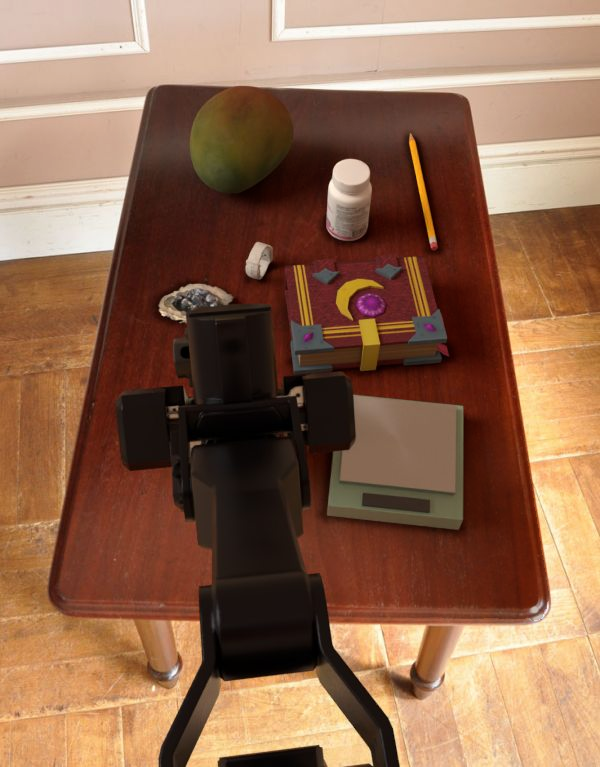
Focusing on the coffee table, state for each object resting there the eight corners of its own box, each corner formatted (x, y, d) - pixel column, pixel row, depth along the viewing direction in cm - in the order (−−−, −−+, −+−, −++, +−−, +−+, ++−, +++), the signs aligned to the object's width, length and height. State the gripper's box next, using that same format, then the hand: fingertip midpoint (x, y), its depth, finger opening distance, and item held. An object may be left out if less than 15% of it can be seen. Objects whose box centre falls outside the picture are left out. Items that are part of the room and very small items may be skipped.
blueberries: (228, 338, 89) (227, 327, 87) (151, 331, 89) (149, 320, 87) (236, 288, 92) (236, 277, 91) (163, 282, 93) (161, 270, 91)
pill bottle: (327, 210, 99) (331, 153, 92) (368, 213, 99) (375, 157, 92) (324, 240, 97) (327, 184, 90) (366, 244, 96) (373, 189, 89)
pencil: (430, 250, 96) (431, 246, 96) (406, 135, 107) (407, 130, 106) (437, 250, 96) (438, 246, 96) (413, 134, 107) (413, 130, 106)
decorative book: (282, 290, 92) (283, 259, 88) (429, 279, 94) (436, 248, 90) (294, 377, 86) (295, 348, 82) (451, 364, 88) (459, 335, 83)
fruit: (296, 143, 105) (298, 73, 97) (285, 216, 99) (285, 148, 90) (203, 134, 106) (196, 65, 98) (184, 207, 99) (176, 138, 91)
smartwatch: (260, 288, 93) (260, 263, 89) (242, 282, 93) (241, 257, 90) (273, 265, 94) (273, 239, 91) (255, 259, 95) (255, 234, 92)
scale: (458, 530, 78) (464, 517, 75) (326, 515, 78) (328, 502, 76) (459, 417, 84) (464, 402, 82) (337, 404, 85) (339, 389, 82)
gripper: (362, 323, 61) (331, 300, 76) (95, 345, 59) (119, 317, 75) (370, 473, 63) (339, 422, 78) (114, 498, 62) (133, 441, 77)
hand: (234, 398), depth 77 cm, fingers closed on cup, 7 cm apart
